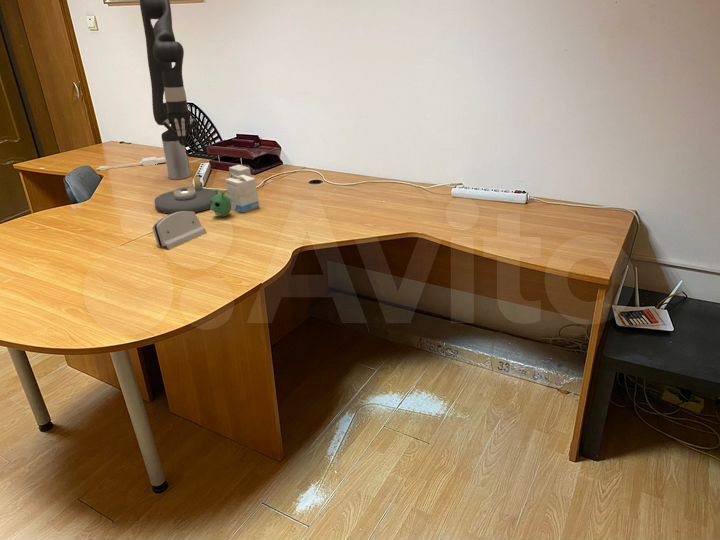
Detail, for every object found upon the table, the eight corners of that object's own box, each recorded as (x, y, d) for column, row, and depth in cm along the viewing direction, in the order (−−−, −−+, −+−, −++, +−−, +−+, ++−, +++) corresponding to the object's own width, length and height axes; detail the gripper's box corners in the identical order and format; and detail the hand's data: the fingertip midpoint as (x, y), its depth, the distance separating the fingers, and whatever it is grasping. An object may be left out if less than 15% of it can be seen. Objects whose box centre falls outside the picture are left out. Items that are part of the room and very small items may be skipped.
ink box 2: (259, 207, 195) (256, 173, 189) (241, 213, 189) (237, 178, 183) (246, 203, 200) (242, 169, 194) (228, 208, 194) (223, 174, 189)
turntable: (225, 193, 210) (222, 175, 206) (211, 213, 188) (208, 193, 185) (167, 194, 209) (163, 176, 206) (146, 214, 188) (142, 194, 184)
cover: (198, 194, 201) (197, 186, 199) (192, 200, 194) (191, 192, 192) (178, 194, 201) (177, 186, 200) (171, 200, 194) (170, 193, 192)
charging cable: (97, 171, 250) (95, 164, 249) (165, 161, 261) (164, 155, 260) (97, 173, 246) (95, 167, 245) (166, 163, 257) (164, 157, 255)
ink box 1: (231, 194, 210) (228, 166, 205) (241, 192, 213) (238, 164, 208) (243, 199, 205) (240, 170, 199) (253, 196, 208) (250, 167, 203)
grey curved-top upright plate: (168, 250, 159) (155, 220, 156) (159, 252, 162) (146, 222, 159) (207, 232, 172) (196, 205, 169) (199, 234, 175) (188, 207, 172)
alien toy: (207, 217, 186) (203, 190, 181) (225, 211, 191) (222, 186, 187) (218, 221, 182) (214, 194, 177) (236, 215, 187) (233, 189, 182)
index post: (201, 192, 213) (199, 182, 211) (204, 193, 212) (202, 182, 210) (198, 193, 211) (197, 183, 209) (201, 194, 211) (200, 183, 209)
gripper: (193, 97, 196) (200, 142, 204) (157, 98, 192) (165, 144, 200) (194, 99, 190) (201, 145, 198) (157, 101, 186) (165, 148, 194)
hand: (183, 145), depth 199 cm, fingers closed
